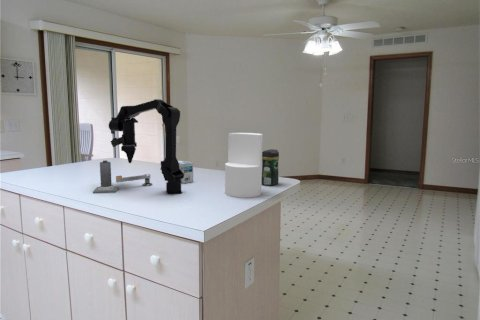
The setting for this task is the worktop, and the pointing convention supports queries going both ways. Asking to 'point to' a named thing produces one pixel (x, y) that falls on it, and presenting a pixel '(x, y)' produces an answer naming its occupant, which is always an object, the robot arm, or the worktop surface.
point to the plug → (105, 175)
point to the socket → (106, 190)
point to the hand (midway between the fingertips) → (129, 163)
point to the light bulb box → (186, 171)
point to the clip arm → (132, 178)
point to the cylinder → (244, 165)
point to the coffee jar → (270, 167)
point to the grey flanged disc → (147, 182)
